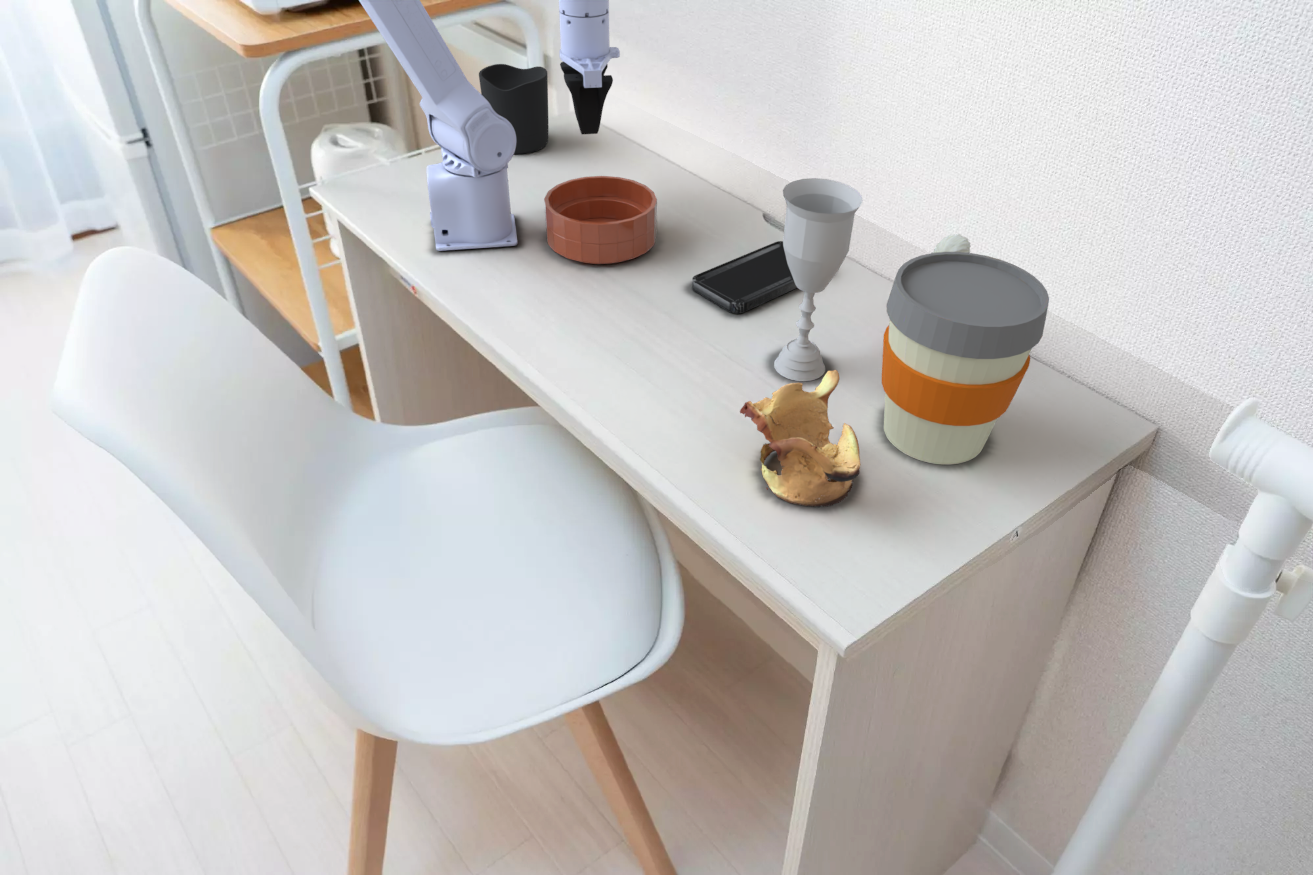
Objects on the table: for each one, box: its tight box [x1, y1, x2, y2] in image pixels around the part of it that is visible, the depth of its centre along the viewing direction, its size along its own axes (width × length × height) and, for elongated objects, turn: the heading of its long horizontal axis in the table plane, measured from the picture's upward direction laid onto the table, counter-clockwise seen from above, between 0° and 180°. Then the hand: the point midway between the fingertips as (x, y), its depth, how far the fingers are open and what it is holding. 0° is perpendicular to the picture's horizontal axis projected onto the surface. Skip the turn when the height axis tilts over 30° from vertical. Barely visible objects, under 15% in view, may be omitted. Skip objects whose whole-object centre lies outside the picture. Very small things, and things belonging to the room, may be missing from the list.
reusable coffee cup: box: [881, 252, 1050, 465], centre depth 80 cm, size 13×13×15 cm
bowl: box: [543, 175, 658, 265], centre depth 111 cm, size 13×13×6 cm
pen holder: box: [478, 63, 549, 155], centre depth 133 cm, size 9×9×10 cm
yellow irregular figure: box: [739, 369, 861, 508], centre depth 77 cm, size 12×10×8 cm
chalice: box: [773, 177, 864, 382], centre depth 87 cm, size 7×7×18 cm
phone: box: [691, 240, 798, 314], centre depth 105 cm, size 8×1×15 cm
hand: (587, 127), depth 116 cm, fingers open, 3 cm apart
